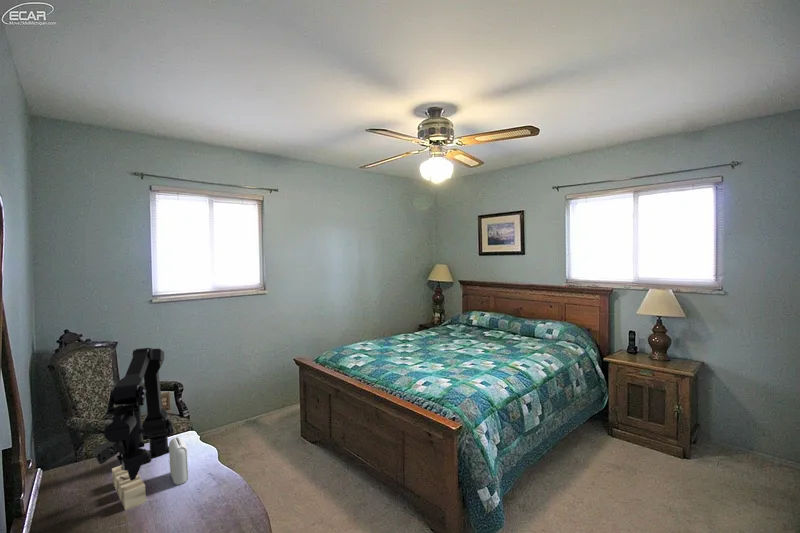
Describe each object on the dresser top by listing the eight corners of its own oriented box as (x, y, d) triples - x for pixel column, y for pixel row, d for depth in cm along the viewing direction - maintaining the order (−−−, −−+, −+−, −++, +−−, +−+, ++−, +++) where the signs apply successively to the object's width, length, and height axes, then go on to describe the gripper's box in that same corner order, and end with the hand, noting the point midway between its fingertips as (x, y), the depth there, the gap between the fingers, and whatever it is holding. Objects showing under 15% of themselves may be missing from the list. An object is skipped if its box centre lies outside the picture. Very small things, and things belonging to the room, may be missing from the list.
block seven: (117, 493, 115) (116, 476, 115) (136, 485, 118) (135, 469, 118) (120, 500, 111) (119, 483, 111) (140, 492, 115) (139, 475, 115)
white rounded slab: (169, 473, 125) (167, 436, 124) (183, 468, 127) (182, 432, 127) (174, 487, 117) (172, 447, 116) (189, 481, 119) (188, 443, 119)
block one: (112, 484, 120) (111, 468, 119) (131, 477, 123) (130, 461, 123) (115, 490, 116) (114, 474, 116) (135, 483, 120) (134, 467, 120)
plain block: (121, 503, 110) (120, 486, 110) (141, 494, 113) (141, 478, 113) (125, 510, 106) (124, 493, 106) (146, 502, 110) (145, 485, 110)
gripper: (89, 427, 110) (92, 479, 110) (99, 448, 97) (103, 507, 97) (135, 414, 118) (137, 463, 118) (150, 432, 105) (153, 487, 105)
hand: (132, 479), depth 110 cm, fingers closed
